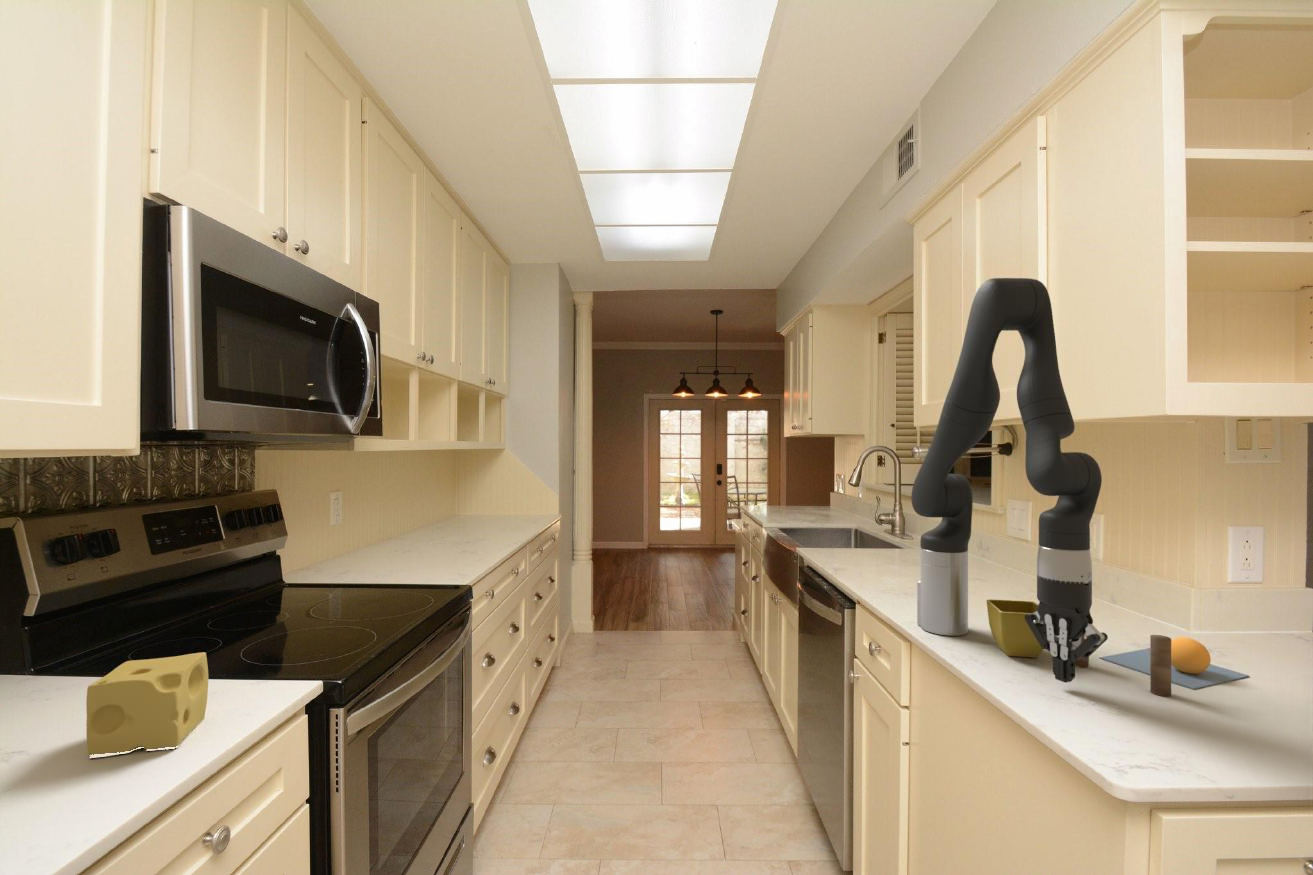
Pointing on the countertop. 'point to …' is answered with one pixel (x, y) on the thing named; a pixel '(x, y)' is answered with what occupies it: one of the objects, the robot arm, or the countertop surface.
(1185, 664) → the ball
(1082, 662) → the inner post
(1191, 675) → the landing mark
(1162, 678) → the outer post
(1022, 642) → the flower pot
